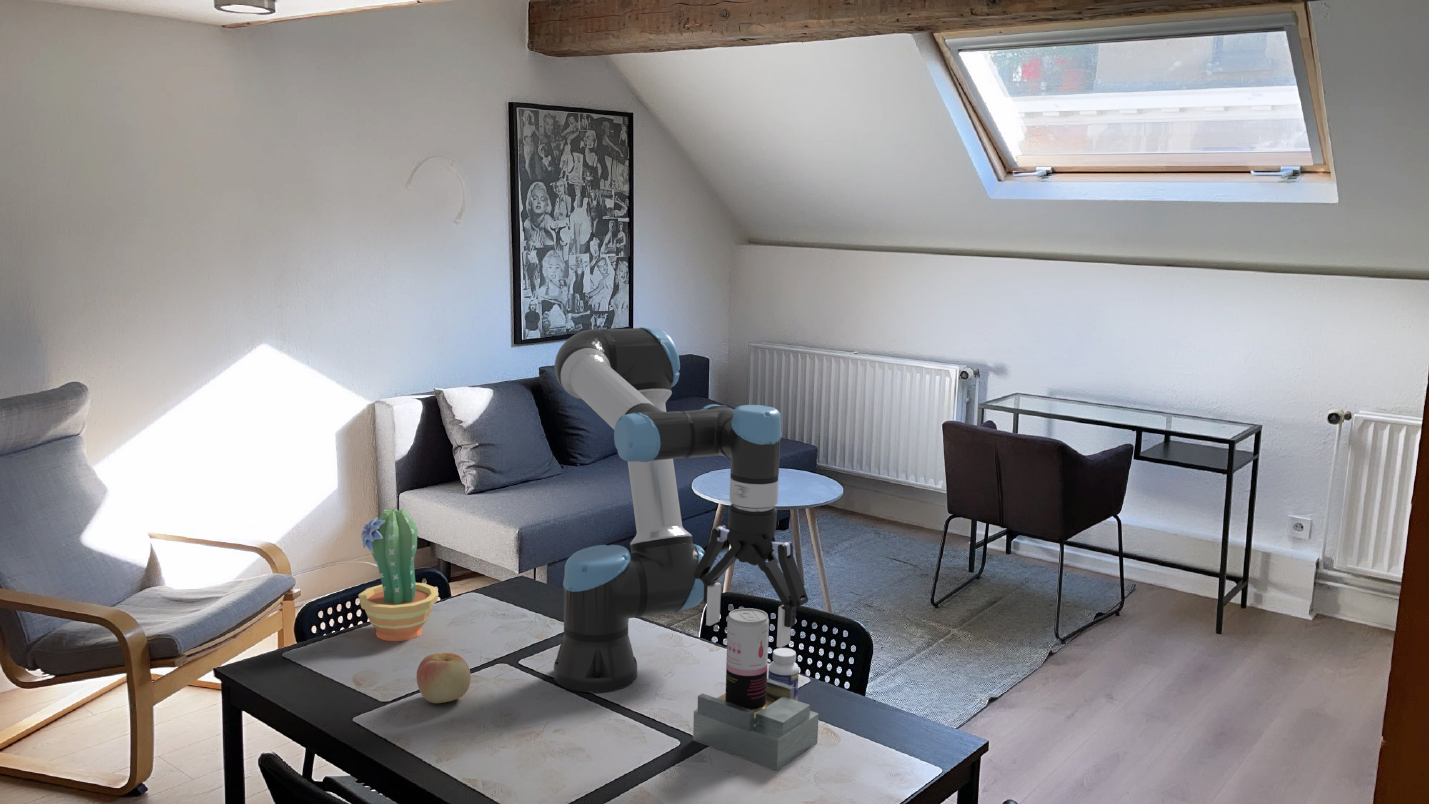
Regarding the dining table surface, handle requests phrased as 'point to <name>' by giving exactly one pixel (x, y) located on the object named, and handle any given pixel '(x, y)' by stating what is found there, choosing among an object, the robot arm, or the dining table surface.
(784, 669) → the pill bottle
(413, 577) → the potted cactus
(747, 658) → the beverage can
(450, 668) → the apple
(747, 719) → the brass dish housing
